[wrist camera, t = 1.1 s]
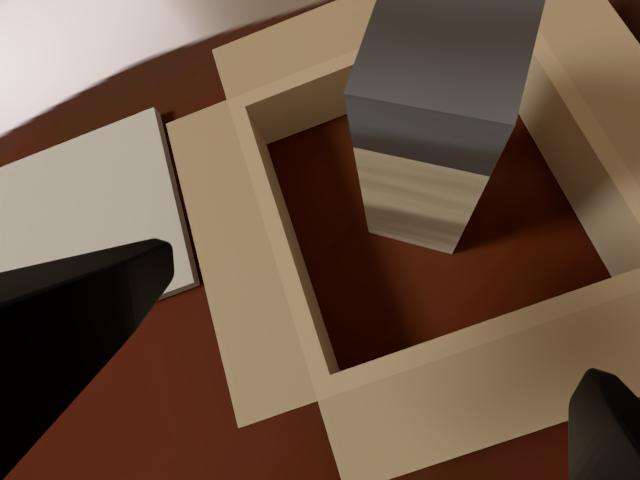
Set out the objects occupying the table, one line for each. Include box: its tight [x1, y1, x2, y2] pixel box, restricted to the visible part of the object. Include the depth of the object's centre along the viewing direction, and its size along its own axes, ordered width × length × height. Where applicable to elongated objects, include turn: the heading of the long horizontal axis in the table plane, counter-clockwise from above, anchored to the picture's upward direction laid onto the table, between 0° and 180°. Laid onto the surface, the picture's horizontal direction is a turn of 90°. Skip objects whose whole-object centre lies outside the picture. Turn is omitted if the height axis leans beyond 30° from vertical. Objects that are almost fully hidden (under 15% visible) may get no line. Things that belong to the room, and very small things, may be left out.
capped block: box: [343, 0, 545, 254], centre depth 18 cm, size 4×4×12 cm
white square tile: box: [0, 107, 200, 300], centre depth 26 cm, size 12×12×1 cm
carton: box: [166, 0, 640, 480], centre depth 22 cm, size 23×23×4 cm
